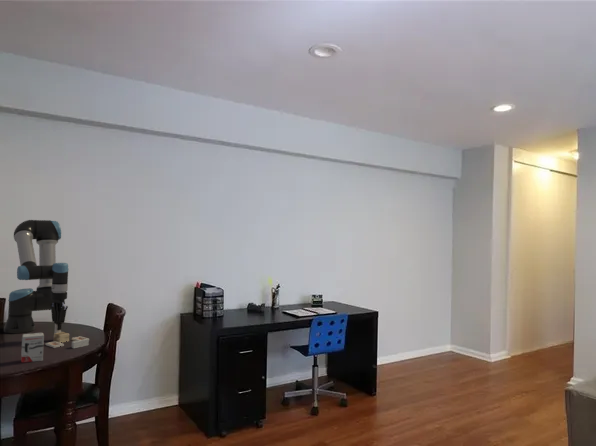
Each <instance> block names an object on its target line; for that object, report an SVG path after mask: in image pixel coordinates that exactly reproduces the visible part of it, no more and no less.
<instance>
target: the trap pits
mask: <svg viewBox="0 0 596 446" xmlns="http://www.w3.org/2000/svg"><path fill="white" fill-rule="evenodd" d="M83 339H89V338H88V337H84V336H81V335H80V336H74V337H71V341H78V340H83ZM45 346H47V347H50V348H54V349H55V348H61V347H64V346H65V344H64V342H62V343H59V342H56V341H54V340H53V341H50V342H45ZM60 346H61V347H60Z"/></svg>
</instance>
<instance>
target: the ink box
mask: <svg viewBox="0 0 596 446" xmlns="http://www.w3.org/2000/svg"><path fill="white" fill-rule="evenodd" d="M44 341H45V334H44V333H43V332H35V333H22V336H21V352H20V353H21V354H20V361H21V362H20V363H33V362H40V361H41V362H42V361H44V344H45V343H44Z"/></svg>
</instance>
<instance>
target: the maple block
mask: <svg viewBox="0 0 596 446" xmlns="http://www.w3.org/2000/svg"><path fill="white" fill-rule="evenodd" d="M54 341H56V342H59V343H61V342H62V343H67V342H70V333H68V332H65V331H61V332H60V333H55V332H54V333H53V342H54ZM66 341H67V342H66Z"/></svg>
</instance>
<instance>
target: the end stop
mask: <svg viewBox="0 0 596 446" xmlns="http://www.w3.org/2000/svg"><path fill="white" fill-rule="evenodd" d="M89 345H90V338H88V339H83V340H78V341H74V340H72V341H71V348H72V349H76V348H82V347H87V346H89Z"/></svg>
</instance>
